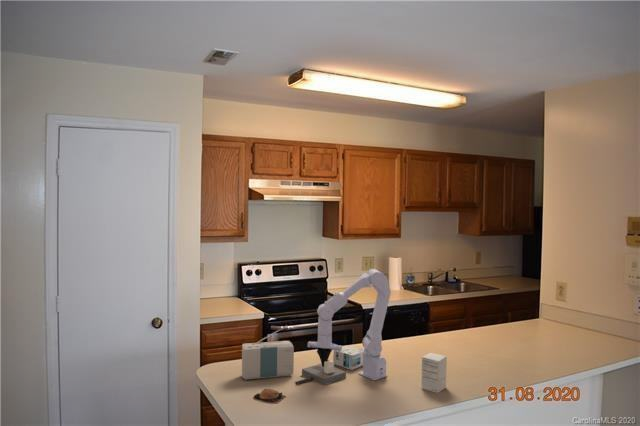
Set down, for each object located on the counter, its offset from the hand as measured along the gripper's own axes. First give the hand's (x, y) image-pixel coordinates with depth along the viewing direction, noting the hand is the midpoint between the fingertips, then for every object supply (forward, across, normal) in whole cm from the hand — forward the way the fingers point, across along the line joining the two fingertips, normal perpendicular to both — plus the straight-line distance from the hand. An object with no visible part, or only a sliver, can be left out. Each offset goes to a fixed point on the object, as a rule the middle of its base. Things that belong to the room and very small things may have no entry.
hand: (324, 366), depth 201 cm
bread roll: (+5, +11, +28) cm, 30 cm away
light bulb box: (+1, 0, -20) cm, 20 cm away
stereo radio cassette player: (+5, +22, +9) cm, 24 cm away
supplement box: (+5, -44, -6) cm, 44 cm away
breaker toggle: (+2, -3, +1) cm, 4 cm away
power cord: (+4, +5, +9) cm, 11 cm away
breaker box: (+4, 0, 0) cm, 4 cm away
